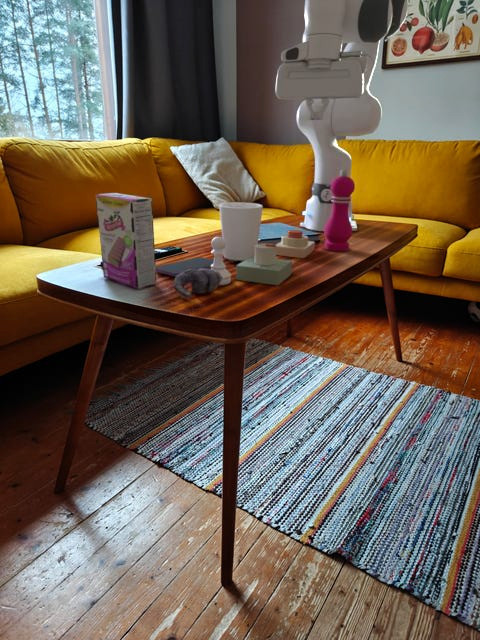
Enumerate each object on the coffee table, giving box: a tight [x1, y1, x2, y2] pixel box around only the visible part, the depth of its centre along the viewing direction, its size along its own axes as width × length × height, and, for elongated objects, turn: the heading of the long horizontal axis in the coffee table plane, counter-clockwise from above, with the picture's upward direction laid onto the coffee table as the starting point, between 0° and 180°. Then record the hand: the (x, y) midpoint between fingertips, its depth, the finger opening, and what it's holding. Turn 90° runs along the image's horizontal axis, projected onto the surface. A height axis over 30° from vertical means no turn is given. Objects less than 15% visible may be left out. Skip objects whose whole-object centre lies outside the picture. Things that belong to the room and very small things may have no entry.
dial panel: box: [235, 256, 293, 286], centre depth 93 cm, size 9×9×3 cm
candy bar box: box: [95, 192, 157, 290], centre depth 85 cm, size 11×5×16 cm, turn 50°
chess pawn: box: [210, 236, 232, 286], centre depth 88 cm, size 5×5×9 cm
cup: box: [218, 201, 264, 264], centre depth 103 cm, size 10×10×13 cm
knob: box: [254, 243, 277, 265], centre depth 91 cm, size 4×4×4 cm
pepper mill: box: [323, 170, 356, 252], centre depth 115 cm, size 7×7×20 cm
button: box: [287, 229, 304, 238], centre depth 113 cm, size 4×4×2 cm
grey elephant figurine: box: [173, 268, 222, 299], centre depth 82 cm, size 5×5×10 cm
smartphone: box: [156, 256, 214, 277], centre depth 98 cm, size 7×1×15 cm
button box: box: [275, 233, 316, 259], centre depth 114 cm, size 10×8×4 cm
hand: (316, 120), depth 107 cm, fingers closed
